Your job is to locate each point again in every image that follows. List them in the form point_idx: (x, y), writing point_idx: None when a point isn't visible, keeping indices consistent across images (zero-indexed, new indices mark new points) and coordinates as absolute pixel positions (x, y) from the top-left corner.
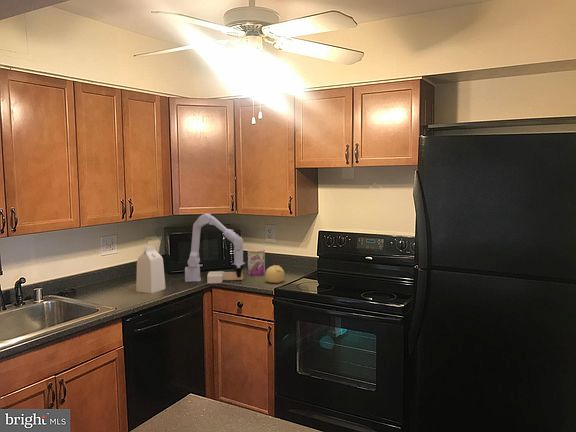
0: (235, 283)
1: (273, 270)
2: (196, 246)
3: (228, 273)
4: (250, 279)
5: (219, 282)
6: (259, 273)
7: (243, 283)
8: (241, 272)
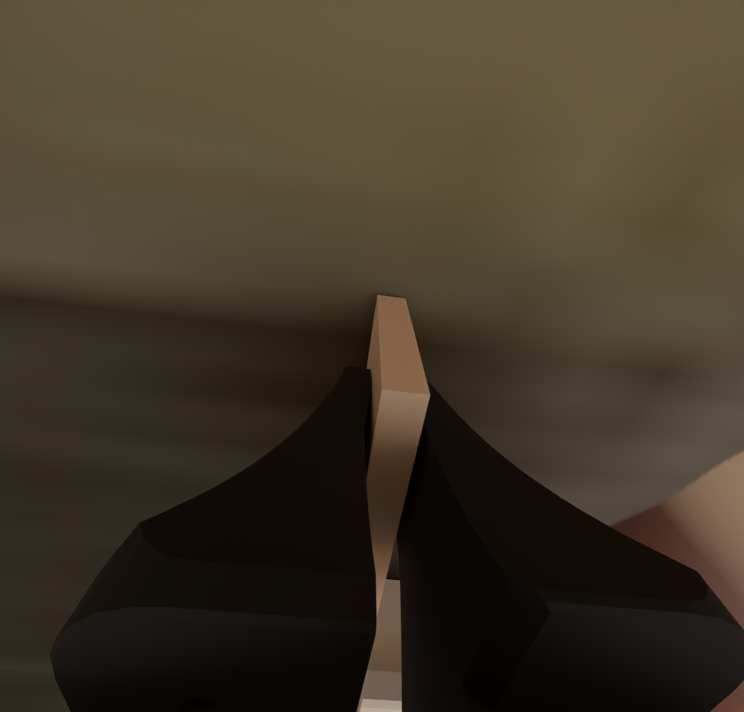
0: (622, 448)
1: None
2: None
3: None
4: (397, 89)
5: None
6: None
7: (714, 323)
8: (416, 422)
